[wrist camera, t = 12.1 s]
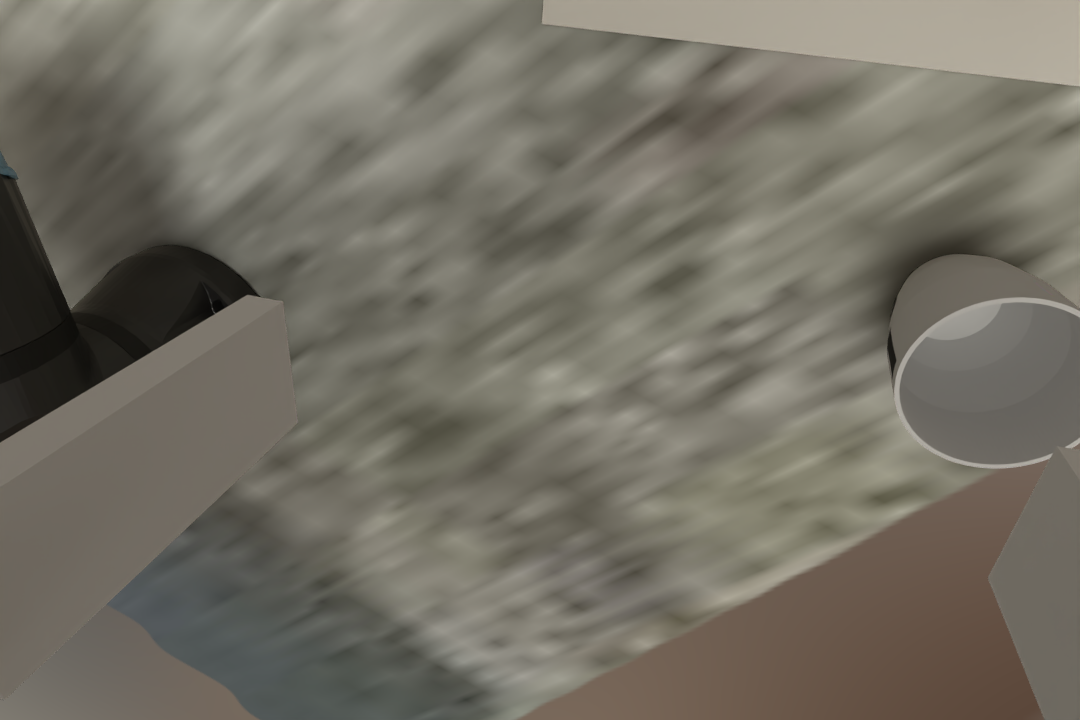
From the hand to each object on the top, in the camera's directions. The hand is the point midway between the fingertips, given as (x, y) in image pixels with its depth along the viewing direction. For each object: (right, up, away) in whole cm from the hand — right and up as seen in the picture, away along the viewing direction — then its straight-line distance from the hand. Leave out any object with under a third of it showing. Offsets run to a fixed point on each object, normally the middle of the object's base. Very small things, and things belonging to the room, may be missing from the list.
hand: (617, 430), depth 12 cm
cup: (+21, +5, +25) cm, 33 cm away
